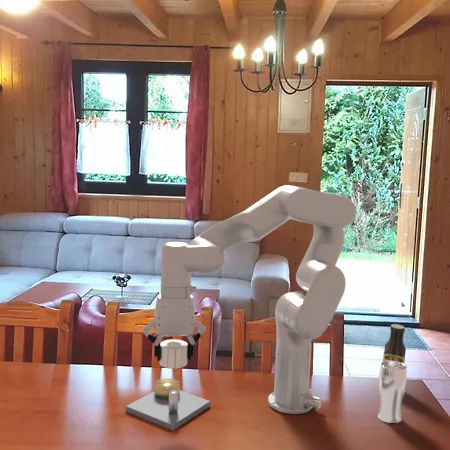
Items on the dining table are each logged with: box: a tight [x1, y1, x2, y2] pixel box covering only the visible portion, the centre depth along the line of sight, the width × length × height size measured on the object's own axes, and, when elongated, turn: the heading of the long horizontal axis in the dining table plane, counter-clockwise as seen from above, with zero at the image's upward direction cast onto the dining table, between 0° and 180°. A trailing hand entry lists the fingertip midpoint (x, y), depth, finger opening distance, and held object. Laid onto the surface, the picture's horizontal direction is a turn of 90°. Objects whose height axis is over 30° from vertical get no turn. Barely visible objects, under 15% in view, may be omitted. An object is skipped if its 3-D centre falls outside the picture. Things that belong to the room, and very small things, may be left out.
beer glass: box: [377, 360, 408, 424], centre depth 142 cm, size 7×7×15 cm
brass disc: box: [153, 378, 181, 400], centre depth 149 cm, size 7×7×3 cm
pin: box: [169, 390, 178, 415], centre depth 139 cm, size 2×2×6 cm
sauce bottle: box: [382, 323, 407, 364], centre depth 159 cm, size 6×6×20 cm
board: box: [125, 390, 211, 431], centre depth 144 cm, size 16×16×2 cm
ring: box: [158, 339, 189, 369], centre depth 137 cm, size 7×7×5 cm
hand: (173, 357), depth 137 cm, fingers closed on ring, 7 cm apart
